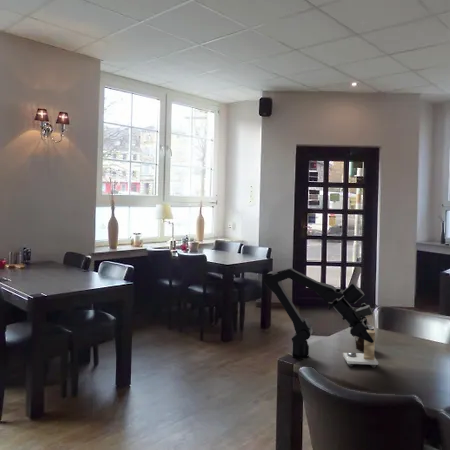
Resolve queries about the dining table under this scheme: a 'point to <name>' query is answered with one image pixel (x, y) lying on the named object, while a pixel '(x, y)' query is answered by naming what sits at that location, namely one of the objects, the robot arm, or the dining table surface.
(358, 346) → the coffee mug
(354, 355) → the silver metal dome
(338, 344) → the dining table surface
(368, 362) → the white square board
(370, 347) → the beech post
